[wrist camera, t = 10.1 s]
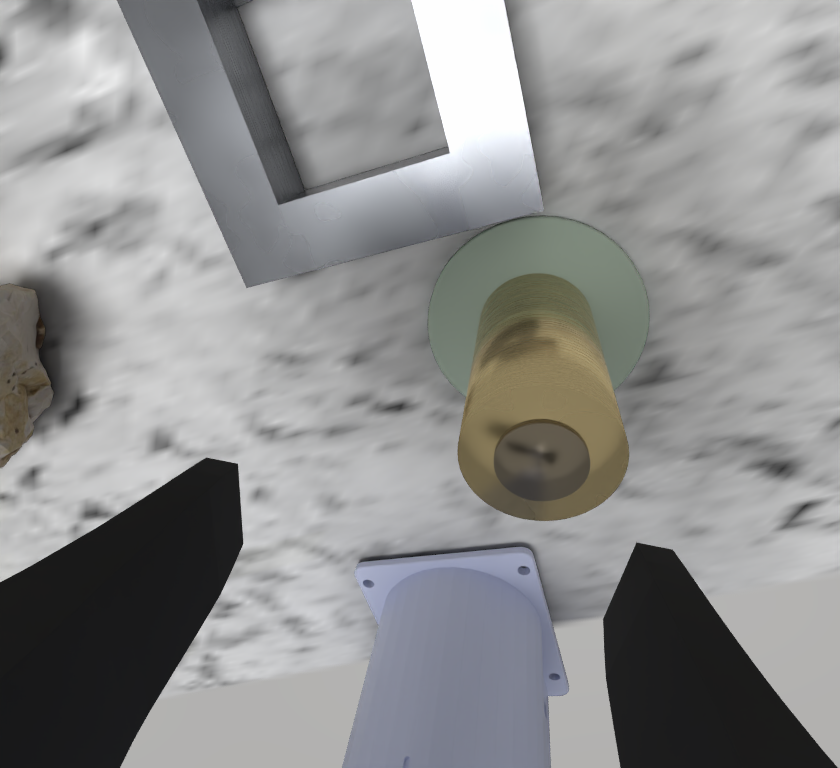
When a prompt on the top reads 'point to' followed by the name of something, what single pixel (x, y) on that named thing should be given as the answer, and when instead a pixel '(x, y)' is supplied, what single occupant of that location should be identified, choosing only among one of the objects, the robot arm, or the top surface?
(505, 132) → the housing
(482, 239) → the mat
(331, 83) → the top surface
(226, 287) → the top surface
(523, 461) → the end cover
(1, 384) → the rock
